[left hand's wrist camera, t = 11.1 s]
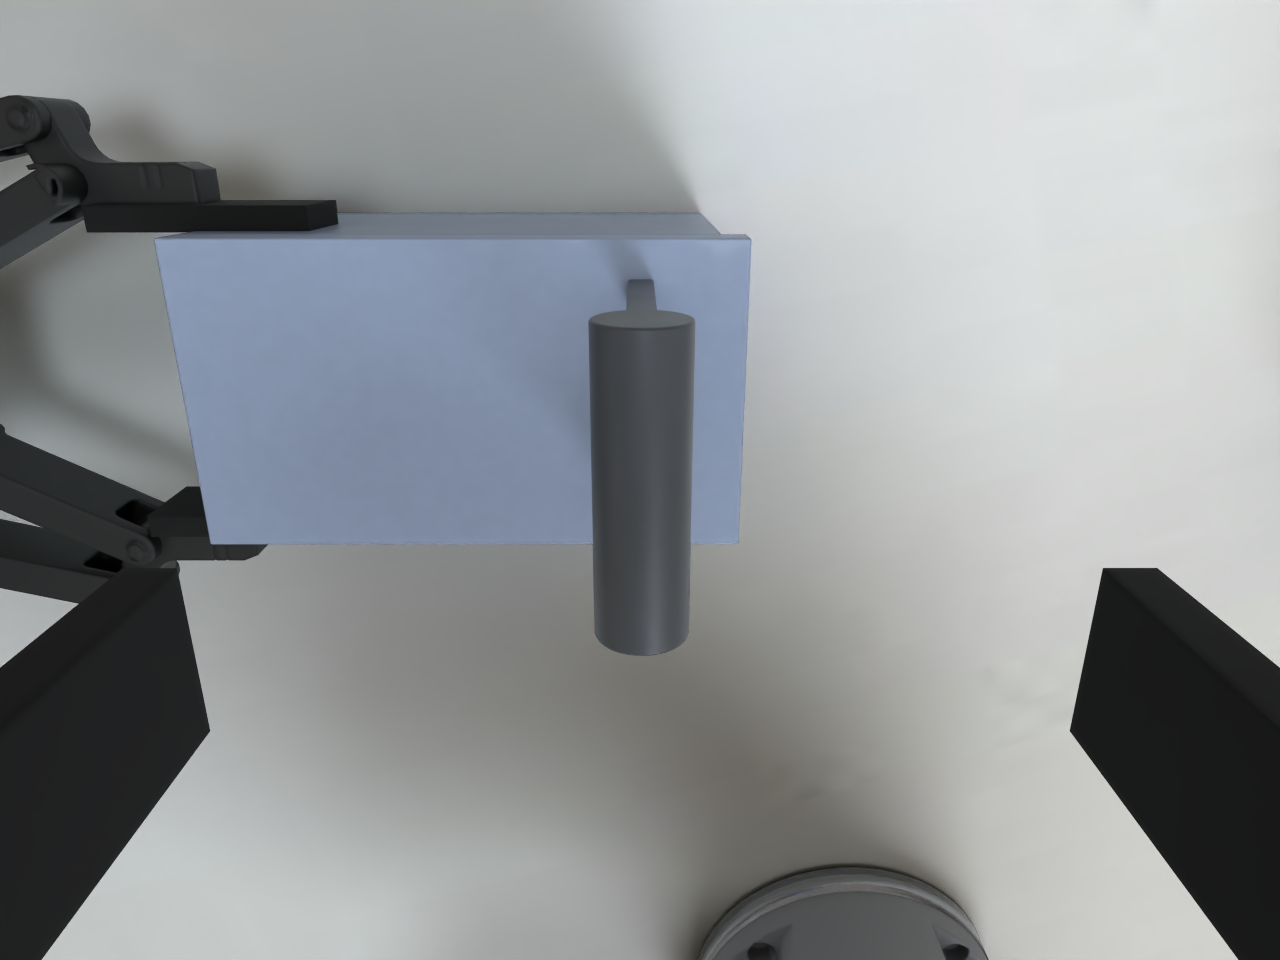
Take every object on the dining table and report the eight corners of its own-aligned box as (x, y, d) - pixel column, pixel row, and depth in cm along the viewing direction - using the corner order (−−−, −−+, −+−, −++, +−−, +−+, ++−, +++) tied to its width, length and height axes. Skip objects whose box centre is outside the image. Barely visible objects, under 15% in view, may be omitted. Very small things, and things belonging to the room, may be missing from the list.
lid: (746, 234, 25) (802, 278, 16) (734, 528, 28) (776, 693, 20) (174, 234, 25) (-66, 278, 16) (227, 529, 28) (49, 694, 20)
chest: (701, 212, 33) (722, 234, 25) (696, 441, 36) (713, 528, 28) (291, 212, 33) (175, 234, 25) (321, 441, 36) (227, 528, 28)
